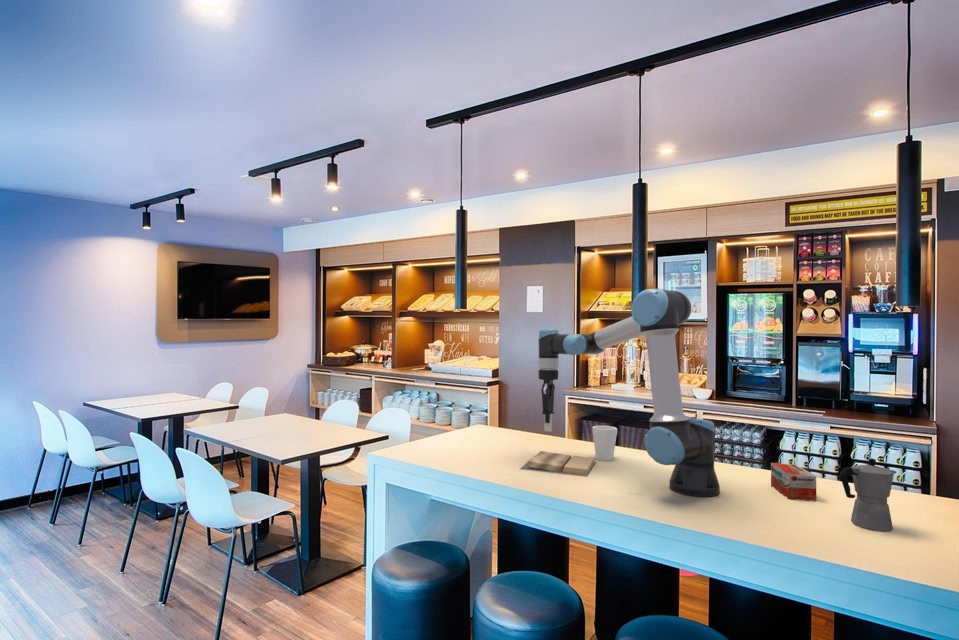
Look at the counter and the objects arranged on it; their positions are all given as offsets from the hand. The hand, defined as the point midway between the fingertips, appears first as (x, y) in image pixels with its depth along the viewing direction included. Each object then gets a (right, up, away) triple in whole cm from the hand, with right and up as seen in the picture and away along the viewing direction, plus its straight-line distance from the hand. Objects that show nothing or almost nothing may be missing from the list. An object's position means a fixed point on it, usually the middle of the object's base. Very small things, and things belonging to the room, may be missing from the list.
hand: (548, 431), depth 209 cm
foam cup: (+22, -13, +5) cm, 26 cm away
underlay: (+3, -12, -8) cm, 15 cm away
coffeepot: (+78, -13, -62) cm, 100 cm away
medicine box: (+74, -14, -33) cm, 82 cm away
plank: (0, -11, -6) cm, 13 cm away
